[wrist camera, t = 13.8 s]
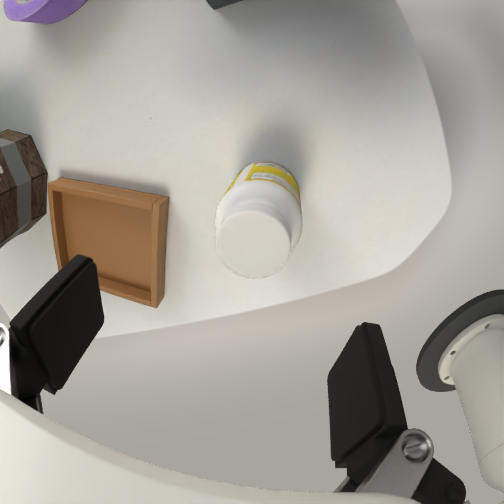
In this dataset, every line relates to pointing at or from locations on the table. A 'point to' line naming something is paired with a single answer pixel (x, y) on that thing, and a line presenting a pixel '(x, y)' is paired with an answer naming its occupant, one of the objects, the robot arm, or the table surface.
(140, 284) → the oak tray
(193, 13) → the table surface
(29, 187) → the mug
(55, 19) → the tape roll
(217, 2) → the slate tray
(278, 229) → the supplement bottle
